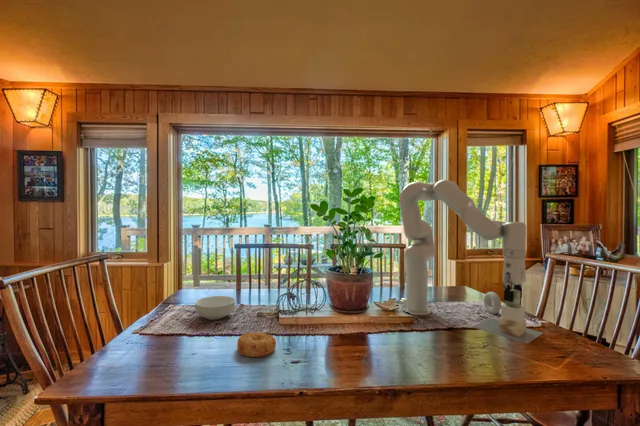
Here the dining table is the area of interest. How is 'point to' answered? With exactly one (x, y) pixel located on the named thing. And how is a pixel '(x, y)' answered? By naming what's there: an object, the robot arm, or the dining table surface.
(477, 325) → the tile
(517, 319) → the top block
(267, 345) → the bagel
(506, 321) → the base block
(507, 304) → the cylinder
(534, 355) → the dining table surface
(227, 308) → the cereal bowl
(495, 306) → the donut
